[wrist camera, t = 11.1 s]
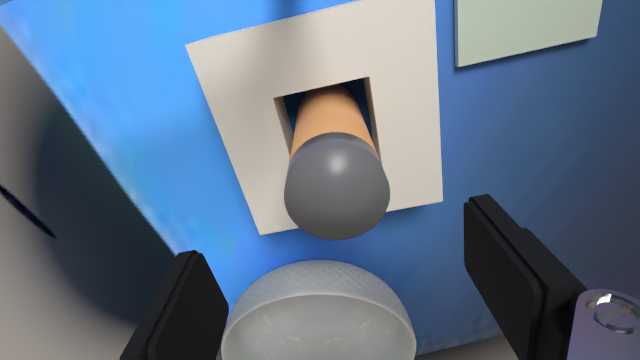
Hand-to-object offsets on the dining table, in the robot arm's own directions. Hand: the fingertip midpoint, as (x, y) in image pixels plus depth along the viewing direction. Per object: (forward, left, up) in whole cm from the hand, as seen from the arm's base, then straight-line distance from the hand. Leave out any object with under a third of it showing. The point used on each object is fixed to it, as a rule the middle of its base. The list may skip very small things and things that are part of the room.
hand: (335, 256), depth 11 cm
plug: (0, 0, -15) cm, 15 cm away
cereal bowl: (+5, +19, -15) cm, 25 cm away
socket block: (0, -3, -15) cm, 15 cm away
